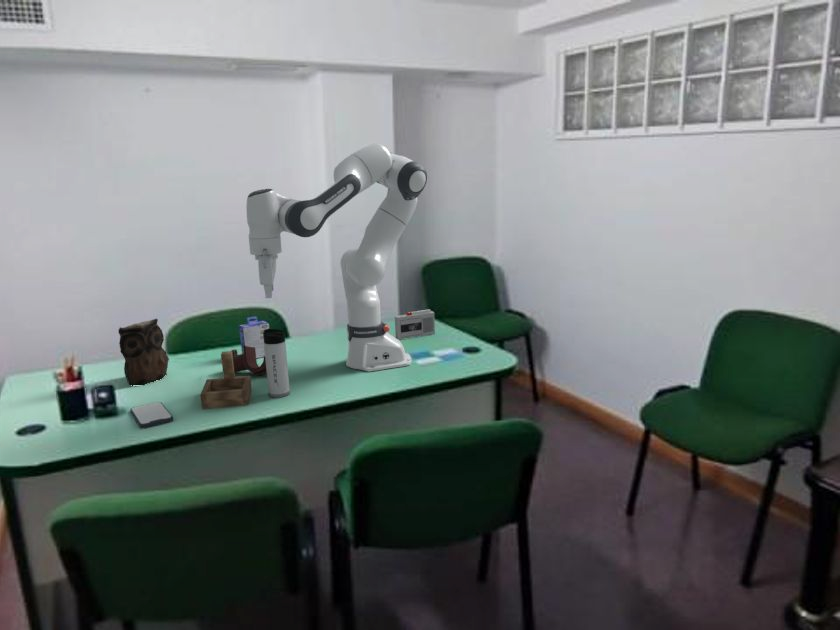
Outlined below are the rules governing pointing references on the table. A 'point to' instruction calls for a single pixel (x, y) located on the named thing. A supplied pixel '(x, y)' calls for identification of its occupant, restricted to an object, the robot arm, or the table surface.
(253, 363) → the bracket
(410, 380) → the table surface
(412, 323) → the cassette player
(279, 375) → the travel mug
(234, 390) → the wooden caddy
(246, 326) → the ink cartridge box
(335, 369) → the table surface
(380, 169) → the robot arm
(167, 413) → the phone case
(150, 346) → the owl
